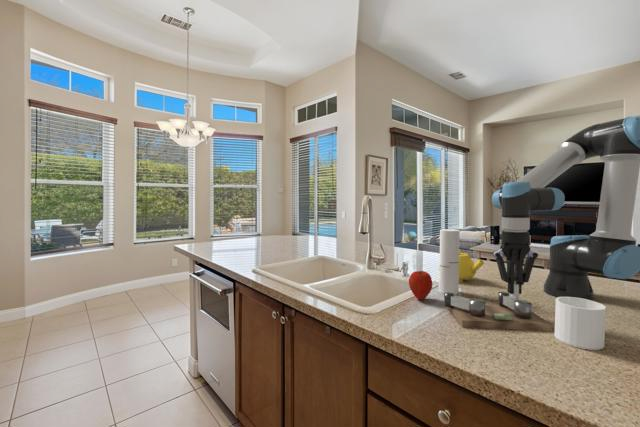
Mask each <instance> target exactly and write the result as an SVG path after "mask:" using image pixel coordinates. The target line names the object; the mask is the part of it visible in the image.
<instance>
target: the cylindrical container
mask: <svg viewBox="0 0 640 427" xmlns="http://www.w3.org/2000/svg"><path fill="white" fill-rule="evenodd" d="M460 234H461V233H460V229H453V228H451V229H450V228H449V229H447V228H446V229H444V228H442V229H439V265H440V268H439V267H438V271H439V274H438V275H439V278H438V281H439V282H438V283H439V284H438V286H439V287H438V291H439V293H441V294H444V293H446V292H449V293H453V294H454V295H456V296H458V294H459V290H460V288H459V286H460V283H459V250H460Z"/></svg>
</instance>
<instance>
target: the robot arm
mask: <svg viewBox="0 0 640 427" xmlns="http://www.w3.org/2000/svg"><path fill="white" fill-rule="evenodd" d="M596 157H599V159H600V160H601V161H602V162H603V163H604V168H603V176H602V183H601V190H600V197H599V198H600V199H599V206H598V212H597V221H596V228H595V231H594V232H592V233H591V234H589V235H588V234H587V235H586V234H584V235H583V234H581V235H577V234H575V235H555V236H552V237H551V239H550V245H549V272H548V275H547V277H546V279H545V282H544V284H543V292H544V293H546V294H547V295H551V296H553V297H556V298H558V297H576V298H582V299H587V300H591V301H592V300H593V299H594V294H595V292H594V289H593V287H592V284H591V282H590V278H589V273H591V274H596V275H600V276H605V277H606V278H611V279H612V278H613V279H620V280H628V279H631V278H632V277H634V276H636V274H638V273H640V246H638V245H637V239H636V238H634V237H633V235H632V234H631V232H632V226H633V221H634V219H633V218H634V211H635V205H636V204H635V203H636V197H637V196H636V195H637V190H638V183H639V174H640V115H635V116H626V117H624V118H619V119H615V120H610V121H605V122H602V123H596V124H593V125H590V126H588V127H585V128H584V129H581V130H580V131H578V132H577V133H575V134H573V135H572V136H570V137H569V138H567V139H566V140H565V141H563V142H562V143H561V144H560V145H558V147H557V150H556V151H555V152H553V153H552V154H551V155H549V156H548V157H547V158H545V159H544V160H542V162H540V163H538V164H537V165H536V166H534V168H532V169H531V170H530V171H528V172H527V173H526V174H524V175H523V176H522V177H521V178H519V179H517V180H516V181H510V182H509V181H508V182H504V183H503V185H502V188H501V189H497V190H495V191H494V192H493V194H492V197H491V203H492V205H493V206H494V207H495V208H496V209H499V210H501V229H502V231H501V241H500V242H501V245H500V247H499V250H497V251H493V252H492V255H493V257H494V259H495V260H496V264H497V268H498V272H499V275H500V276H499V277H500V279H501V281H503V282H505V283H507V293H509V295H510V296H512V297H514V298H516V299H518V300H520V299H519V298H520V295H521V294H522V286H523V285H524V284H525V283H529V281H530V279H531V278H530V277H531V273H532V271H533V268H534V264H535V260H536V259H537V258H538V257H539V254H538V252H534V251H533V250H532V249H531V247H530V235H531V234H530V232H529V230H531V223H530V222H531V220H530V218H531V212H552V211H558V210H560V209H561V208H562V207H563V206H564V204H565V200H566V199H565V198H566V196H565V193H564V192H563V191H562V190H561V189H559V188H558V187H557V188H556V187H546V186H548V185H549V184H550V183H552V182H553V181H555V179H557V178H558V177H560V175H563V174H564V172H567V170H568V169H570V168H571V167H572V166H574V165H579V164H581V163H583V161H586V160H588V159H591V158H596ZM503 255H504V256H503ZM503 257H505V260H506V265H505V260H504V258H503ZM525 257H526V259H525Z"/></svg>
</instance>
